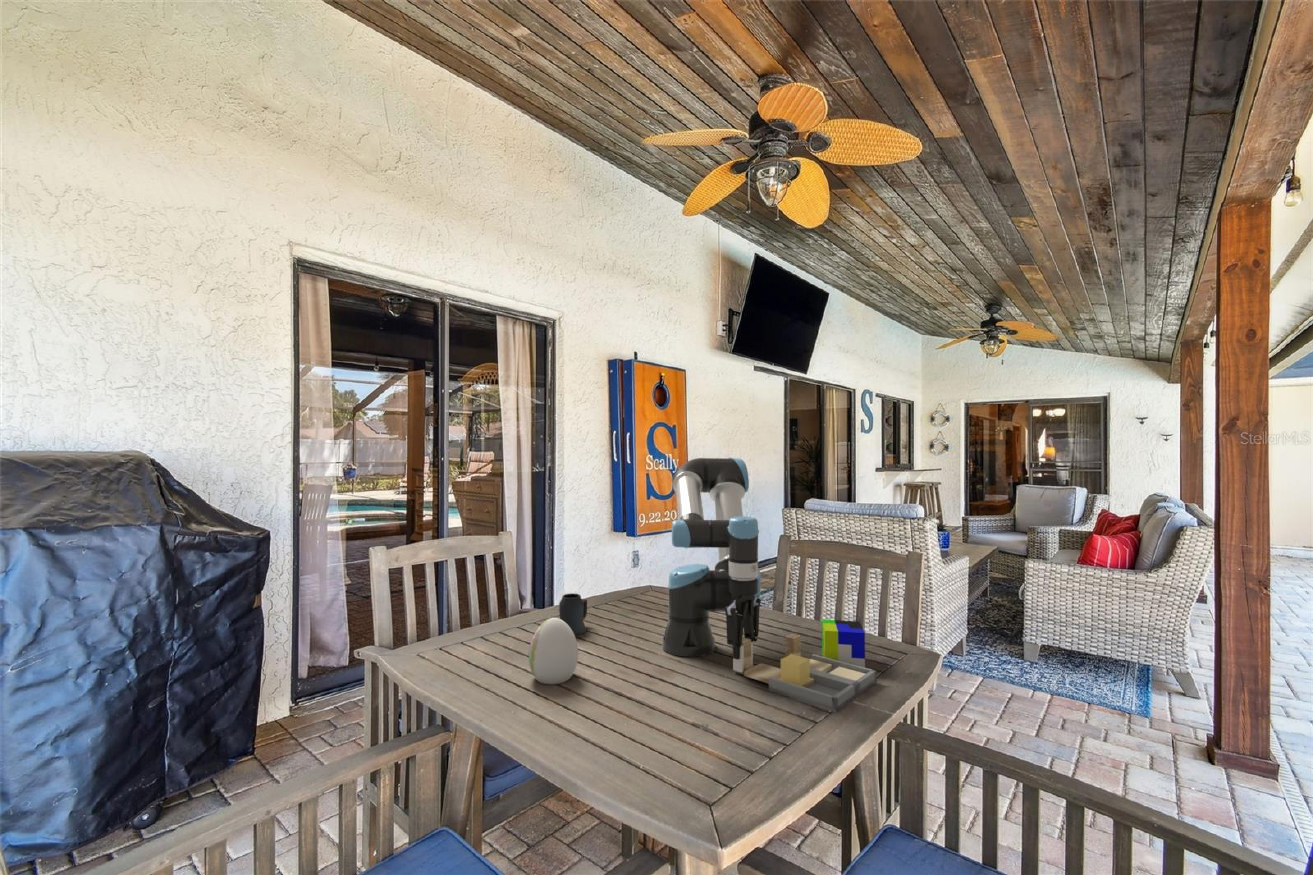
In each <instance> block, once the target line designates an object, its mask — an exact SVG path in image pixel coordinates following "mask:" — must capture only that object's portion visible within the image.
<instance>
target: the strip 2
mask: <svg viewBox="0 0 1313 875" xmlns="http://www.w3.org/2000/svg"><path fill="white" fill-rule="evenodd" d="M801 640H802V638H801V635H799V634H795V633H790V634H788V635H787V636H785V640H784V641H785V642H784V643H785V652H784V653H785V654H784V655H785V657H787V656H789V655H790V654H793V655H796V656H800V657H802V654H801V653H802V651H801V650H802V648H801V646H802V645H801V644H802V642H801ZM785 657H784V658H785ZM809 659H810V668H812V669H816V670H819V671H823V672H827V671H829V670H830V669H832V664H828V663H824V662H820V661H817V660H813V659H811V658H809Z"/></svg>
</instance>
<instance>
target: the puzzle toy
mask: <svg viewBox="0 0 1313 875" xmlns="http://www.w3.org/2000/svg"><path fill="white" fill-rule="evenodd" d="M865 636H866V632H865V631H864V628H863V626H862V624H861V622H860V621H859V620H858V621H856V620H855V621H854V620H840V619H837V620H836V619H821V656H823V657H827V658H831V659H834V660H838V661H842V662H846V663H850V664H853V665H857V666H861V667H865V668H866V637H865Z"/></svg>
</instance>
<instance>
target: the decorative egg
mask: <svg viewBox="0 0 1313 875" xmlns="http://www.w3.org/2000/svg"><path fill="white" fill-rule="evenodd" d="M576 638H577V637H576V636H575V635H574V633H573V631H572V630H571V628H570V627H569V626H568V625H567V624H566V623H565V622H564V621H563V620H561V619H560V617H559V618H558V617H549V618H548V619H546V620H545V621H543V622H542V623H541V624H540V625H539V626H538V628H537V629H536V631H535V632H534V634H533V637H532V639H531V641H530V644H529V651H528V664H529V668H530V671H531V673H532V675H533V676H534V678H535V679H536V680H537V682H539V683H541V684H543V685H544V684H545V685H559V684H562V683H565V682H567V681H569V679H571V677H572V676H573V675H574V672H575V671H576V670H577V669H576V668H577V666H578V662H579V647H578V641H577V639H576Z"/></svg>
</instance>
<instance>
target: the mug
mask: <svg viewBox="0 0 1313 875" xmlns="http://www.w3.org/2000/svg"><path fill="white" fill-rule="evenodd" d="M558 606H559V609H558V611H559V619H561V620H563V621H564V622H565V623H566V624H567V625H568V626H569V627H570V628H571V630H572V631H573V633H574V635H575V637H577V636H581V635H584V634H585V633H587V629H586V625H585V623H584V620H585V618H586V617H587V615H588V599H585V598H582V596H581V595H580V594H579V593H576V592H575V593H565V594H562V597H561V600H560V601H559V603H558Z"/></svg>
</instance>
